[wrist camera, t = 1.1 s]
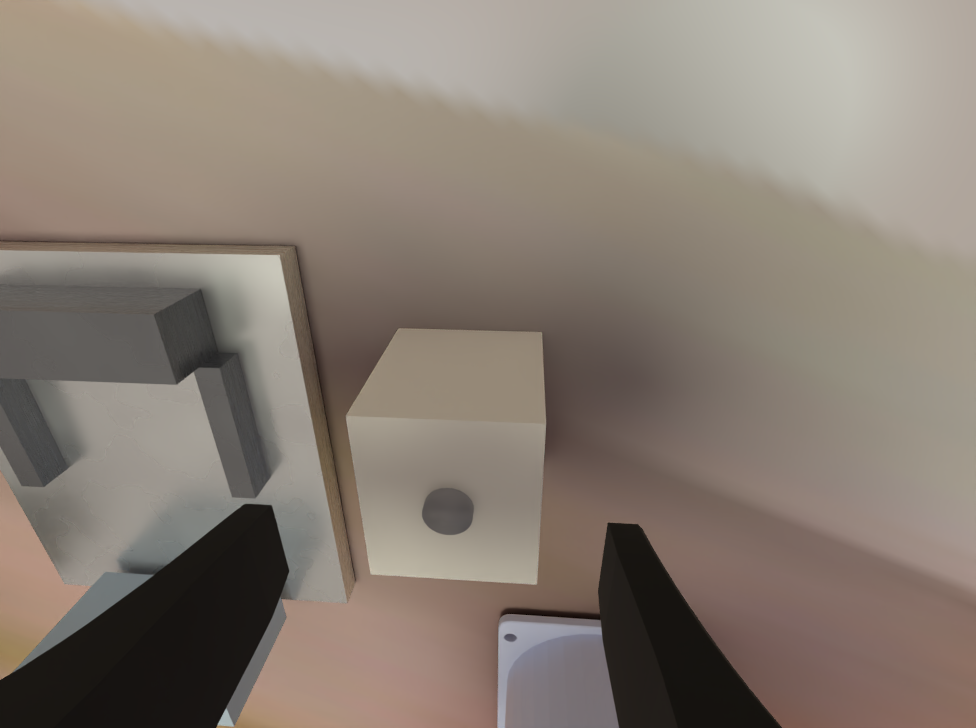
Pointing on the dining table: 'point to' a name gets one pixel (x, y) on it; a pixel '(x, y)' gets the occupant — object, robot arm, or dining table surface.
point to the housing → (452, 455)
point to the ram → (120, 585)
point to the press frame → (165, 406)
